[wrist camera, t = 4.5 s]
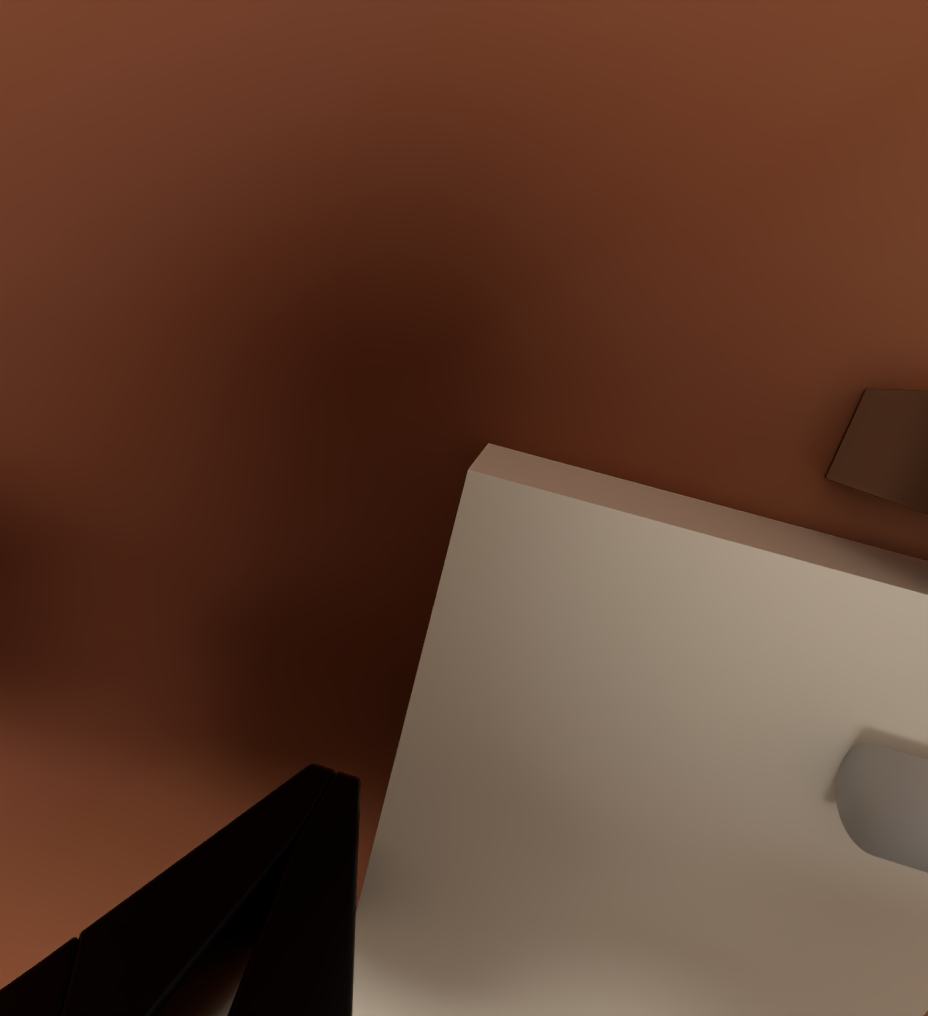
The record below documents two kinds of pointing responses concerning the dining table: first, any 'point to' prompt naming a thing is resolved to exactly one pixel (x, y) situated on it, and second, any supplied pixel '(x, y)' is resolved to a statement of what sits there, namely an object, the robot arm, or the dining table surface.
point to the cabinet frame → (887, 448)
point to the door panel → (653, 766)
